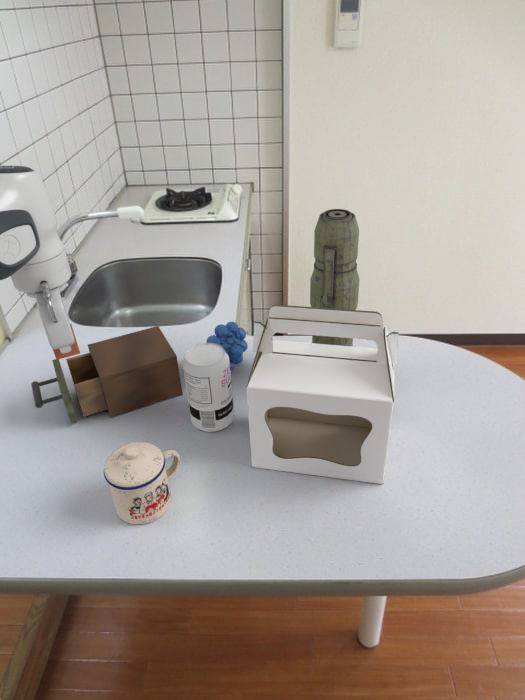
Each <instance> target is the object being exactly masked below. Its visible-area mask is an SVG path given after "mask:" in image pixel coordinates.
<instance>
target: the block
mask: <svg viewBox="0 0 525 700" xmlns="http://www.w3.org/2000/svg"><path fill="white" fill-rule="evenodd" d="M70 326H71V329H72V332H73V336H74V340H75V342H74V344H73V345H70V346H71V351H70V352H68V353H64V354H62V353H61V352H60V349H52V351H53V354H54V357H55V359H56V360H59V361H60V360H62V359H65V358H66V359H67V358H70V357H74V356H77V355H81V350H80V348H79V344H78V341H77V338H76V335H75V331H74V328H73V325H72V323H70Z"/></svg>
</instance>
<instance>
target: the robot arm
mask: <svg viewBox="0 0 525 700" xmlns="http://www.w3.org/2000/svg"><path fill="white" fill-rule="evenodd" d="M57 224H58V222H57V219H56V214H55V210H54V207H53V204H52V201H51V199H50V195H49V193H48V190H47V188H46V186H45V184H44V182H43V180H42V178H41V176H40V174H39V173H38V172H37V171H36V170H35V169H32V168H31V167H28V166H25V165H24V166H23V165H0V281H4V280H6V279H8V278H10V279H11V282H12V284H13V287H14V289H16V290H17V291H19V292H22V293H25V295H26V296H27V297H29V298H32V299H35V301H36V306H37V310H38V313H39V317H40V319H41V323H42V326H43V329H44V332H45V335H46V339H47V342H48V344H49V346H50V348H51V349H52V350H53V349H60V352H61V353H62V354H64V353H68V352H70V351H71V346H70V345H73V344H74V342H75V340H74V336H73V332H72V329H71V326H70V324H71V323H70V320H69V317H68V313H67V309H66V308H65V303H64V301H63V297H62V294H61V293H62V292H63V291H64V290H65V289H66V287H67V282H68V281H69V280H71V278H72V270H71V269H72V268H71V267H70V263H69V259H68V255H67V252H66V249H65V246H64V243H63V242H62V240H61V238H60V237H59V234H58V230H57Z"/></svg>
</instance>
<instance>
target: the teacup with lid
mask: <svg viewBox="0 0 525 700" xmlns="http://www.w3.org/2000/svg"><path fill="white" fill-rule="evenodd" d="M171 457H173V460H172V463H171V466H169V468H168V469H166V460H167V459H169V458H171ZM106 459H107V460H106V461H105V463H104V466H103V476H104V479H105V481H106V482H107V484H108V488H109V491H110V494H111V498H112V501H113V505H114V507H115V510H116V514H117V515H118V517H119V518H120V519H121V520H122V521H124V522H125V523H128V524H131V525H144V524H149V523H151V522H153V521H156V520H157V519H159V518H161V517H162V516H163V515H164V514H165V513H166V512H167V510H169V507H170V505H171V501H172V493H171V489H170V484H169V479H170V478H171V477H173V476H174V474H175V473H177V471H178V469H179V467H180V463H181V456H180V454H179V452H177V450H175V449H167V450H165V451H162V450H161V449H160V448H159V447H157V445H155V444H153V443H149V442H143V441H137V442H130V443H126V444H125V445H122V446H121V447H119V448H117V449H115V450H114V451H113V452H112V453H111V454H110V455H109V456H108V457H107V458H106Z"/></svg>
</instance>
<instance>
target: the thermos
mask: <svg viewBox="0 0 525 700" xmlns="http://www.w3.org/2000/svg"><path fill="white" fill-rule="evenodd" d="M313 235H314V238H313V241H314V242H313V246H314V247H313V257H314V262H313V271H312V274H311V275H310V276H311V277H310V281H309V283H310V285H309V296H310V297H309V305H310V307H317V308H332V309H346V310H357V308H358V306H359V305H358V304H359V291H360V276H359V273H358V263H357V260H358V255H359V254H358V253H359V242H360V241H359V239H360V238H359V236H360V228H359V224H358V220H357V217H356V215H355V213H353V212H352V211H350V210H348V209H343V208H331V209H327V210H325V211H323V212H321V213H320V214H319V216H318V219H317V221H316V224H315V228H314V234H313ZM353 342H354V338H342V337H330V336H317V335H311V343H316V344H328V345H340V346H352V347H353Z"/></svg>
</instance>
